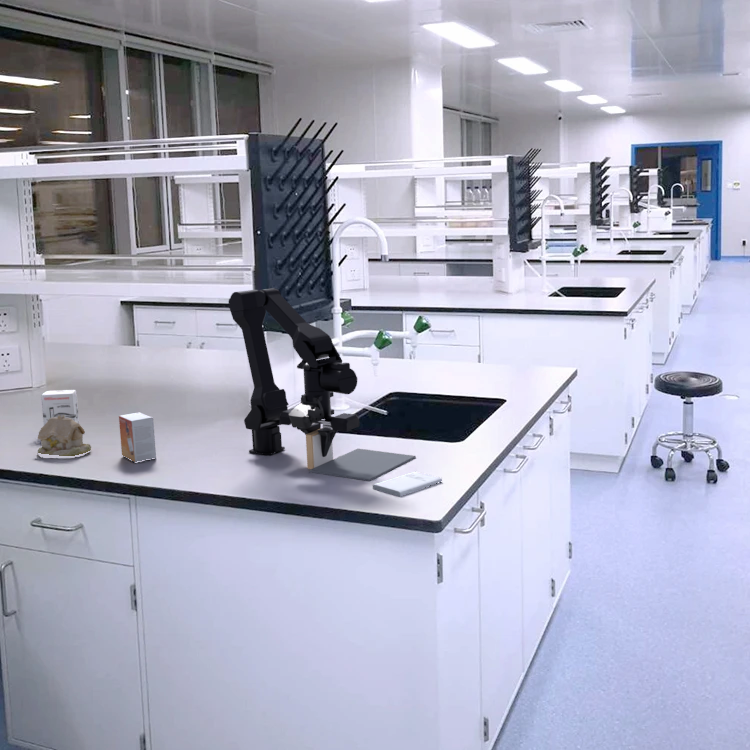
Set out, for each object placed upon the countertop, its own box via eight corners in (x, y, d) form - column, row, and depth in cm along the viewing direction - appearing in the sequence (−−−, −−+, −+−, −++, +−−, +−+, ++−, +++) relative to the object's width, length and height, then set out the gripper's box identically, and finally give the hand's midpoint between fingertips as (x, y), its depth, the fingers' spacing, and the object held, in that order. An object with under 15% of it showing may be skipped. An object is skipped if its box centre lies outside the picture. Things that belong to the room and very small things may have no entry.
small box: (121, 457, 218) (117, 415, 216) (143, 453, 222) (139, 411, 220) (134, 464, 212) (130, 420, 210) (157, 459, 215) (153, 416, 213)
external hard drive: (372, 491, 186) (414, 477, 195) (400, 499, 180) (442, 484, 189) (372, 483, 186) (414, 470, 194) (400, 491, 180) (442, 477, 188)
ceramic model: (27, 457, 222) (22, 418, 220) (60, 445, 232) (56, 408, 230) (71, 461, 216) (66, 421, 215) (102, 450, 226) (99, 411, 225)
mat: (309, 472, 200) (309, 470, 200) (357, 450, 216) (357, 448, 216) (369, 481, 191) (369, 479, 191) (415, 457, 208) (415, 455, 208)
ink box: (44, 437, 242) (39, 394, 240) (48, 432, 247) (44, 390, 245) (76, 435, 243) (72, 392, 240) (80, 430, 247) (76, 389, 245)
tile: (307, 468, 202) (305, 434, 201) (327, 459, 209) (326, 426, 208) (314, 469, 201) (312, 435, 200) (334, 460, 208) (332, 427, 207)
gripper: (262, 393, 200) (266, 460, 203) (330, 399, 190) (334, 470, 193) (292, 383, 209) (296, 448, 212) (359, 389, 200) (362, 457, 202)
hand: (320, 456), depth 205 cm, fingers closed on tile, 2 cm apart
